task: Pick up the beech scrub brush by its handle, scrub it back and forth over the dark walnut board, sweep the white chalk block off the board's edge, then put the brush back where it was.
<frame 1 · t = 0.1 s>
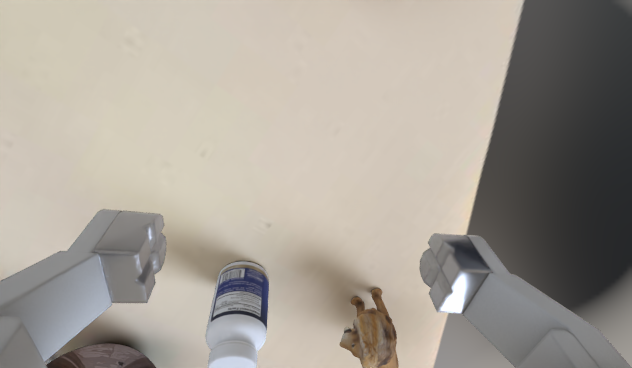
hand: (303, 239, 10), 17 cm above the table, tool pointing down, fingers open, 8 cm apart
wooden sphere: (118, 351, 41), on the table
lion figurine: (366, 308, 40), on the table
pill bottle: (244, 275, 35), on the table
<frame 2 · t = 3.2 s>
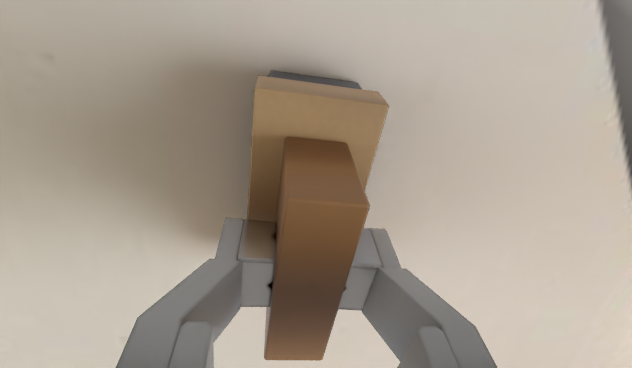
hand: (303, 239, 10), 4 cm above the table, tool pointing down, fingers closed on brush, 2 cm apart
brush: (299, 177, 13), on the table, touching gripper
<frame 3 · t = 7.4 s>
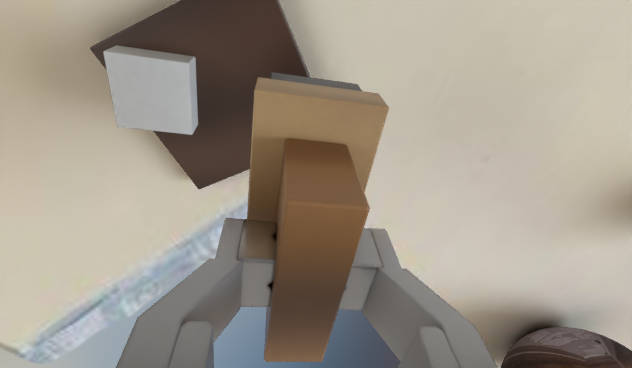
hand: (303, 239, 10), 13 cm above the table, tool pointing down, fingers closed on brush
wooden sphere: (534, 336, 39), on the table
chalk block: (160, 87, 18), point 1 cm above the table, touching board
board: (226, 89, 20), on the table
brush: (299, 178, 13), point 9 cm above the table, touching gripper
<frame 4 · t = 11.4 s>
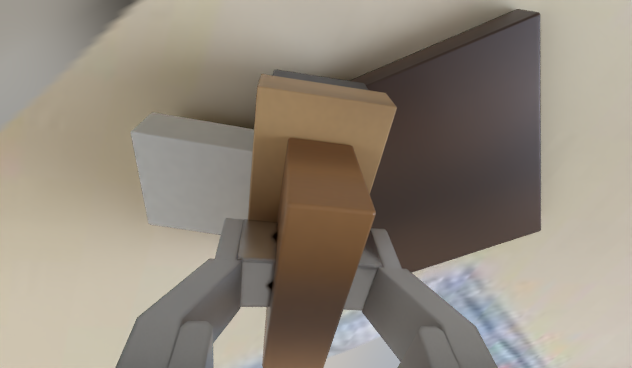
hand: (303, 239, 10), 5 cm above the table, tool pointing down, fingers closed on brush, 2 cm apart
chalk block: (211, 168, 12), point 1 cm above the table, tilted 8°, touching board
board: (408, 174, 14), on the table
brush: (302, 179, 13), point 1 cm above the table, touching gripper
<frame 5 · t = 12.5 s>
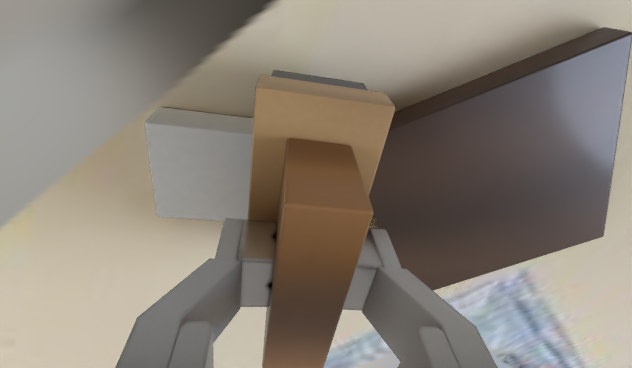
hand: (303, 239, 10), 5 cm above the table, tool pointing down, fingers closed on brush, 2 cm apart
chalk block: (215, 159, 13), on the table, touching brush
board: (479, 182, 15), on the table
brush: (302, 179, 13), point 1 cm above the table, touching chalk block, gripper
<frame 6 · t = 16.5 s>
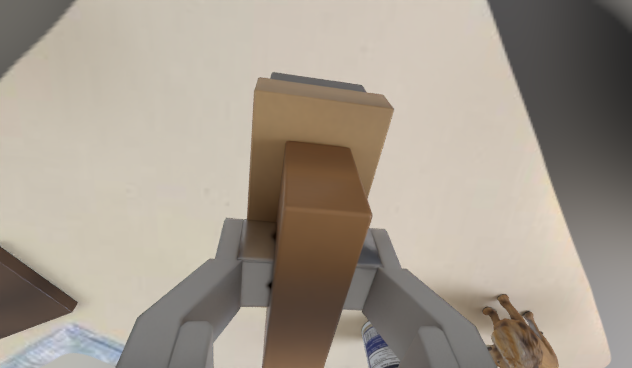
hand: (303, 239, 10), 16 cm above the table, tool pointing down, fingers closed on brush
lion figurine: (501, 312, 42), on the table
pill bottle: (381, 325, 42), on the table
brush: (301, 181, 13), point 13 cm above the table, touching gripper
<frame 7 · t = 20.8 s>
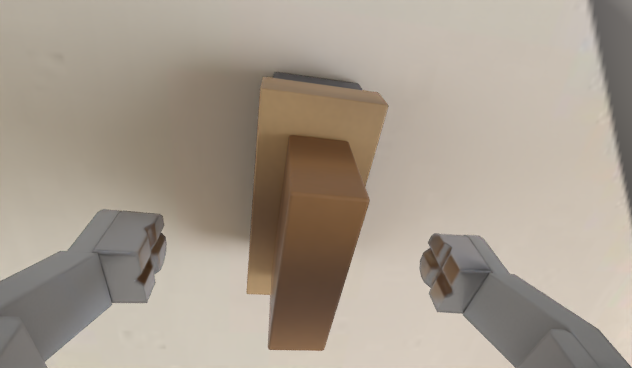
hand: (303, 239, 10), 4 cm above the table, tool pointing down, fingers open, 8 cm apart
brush: (301, 175, 13), on the table
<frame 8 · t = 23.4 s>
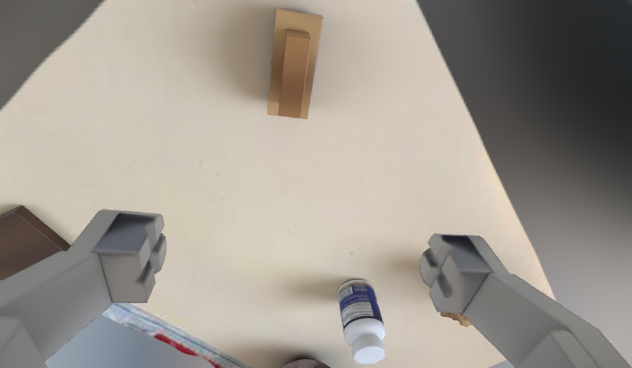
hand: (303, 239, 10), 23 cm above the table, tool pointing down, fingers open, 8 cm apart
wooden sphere: (302, 363, 58), on the table
board: (25, 249, 39), on the table
pill bottle: (354, 289, 48), on the table
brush: (292, 61, 29), on the table
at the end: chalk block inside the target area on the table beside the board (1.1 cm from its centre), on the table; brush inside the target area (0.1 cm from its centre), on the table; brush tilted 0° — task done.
